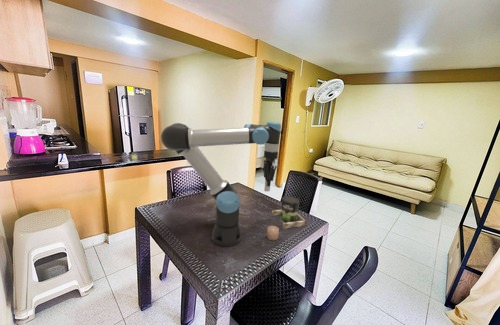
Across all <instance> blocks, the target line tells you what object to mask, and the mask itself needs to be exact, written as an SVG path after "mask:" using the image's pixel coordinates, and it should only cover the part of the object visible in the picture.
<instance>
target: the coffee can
mask: <svg viewBox="0 0 500 325" xmlns="http://www.w3.org/2000/svg"><path fill="white" fill-rule="evenodd" d="M299 205H300V199H299V198H297V197H296V196H290V195H286V196H285V195H284V196H282V198H281V206H280V207H281V208H280V210H281V214H280V215H279V221H280V222H281V223H282V224H283V223H287V222H295V221H297V220H298V219H297V213H298V212H299Z"/></svg>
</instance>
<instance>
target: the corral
mask: <svg viewBox="0 0 500 325" xmlns="http://www.w3.org/2000/svg"><path fill="white" fill-rule="evenodd" d="M280 214H281V209H275V210H272V211H271V216H273V217H274V216H280ZM306 226H307V220H306V219H305V218H304V217H303V216H302V215H300V213H298V212H297V219H296V221H295V222H287V223H283V222H282V226H281V228H282V230H284V229H285V230H286V229H292V228H297V227H306Z"/></svg>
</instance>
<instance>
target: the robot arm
mask: <svg viewBox="0 0 500 325" xmlns="http://www.w3.org/2000/svg"><path fill="white" fill-rule="evenodd" d="M281 130H282V124H281V123H280V122H277V121H267V122H266V124H265V125H264V124H263V125H262V124H251V123H248V124H245V125H244V126H243V127H234V128H233V127H231V128H211V129H205V128H204V129H192V128H190V127H189V126H187V124H184V123H179V122H177V123H173V124H170V125H169V126H166V127H165V128H164V129H163V130H162V132H161V135H160V140H161V143H162V145H163V146H164V147H165V148H166V149H168V150H170V151H175V152H176V153H177V154H178V155H179V156H183V158H184V159H185V160H186V161H187V162H188V164H189V165H190V166H191V167H192V168H193V169H194V172H196V174H198V176H199V177H200V179H201V180H202V181H203V182H204V183H205V185H207V187H208V189H210V193H209V194H210V195H211V196H212V198H213V199H214V200H215V224H214V227H213V229H212V233H211V240H212V242H213V243H214V244H216V245H217V246H220V247H232V246H235V245H237V244H239V243H240V242H241V238H242V233H241V228H240V225H239V222H240V221H239V218H240V205H241V200H240V197H239V194H238V191H237V189H236V188H235V186H233V185H232V184H230V183H229V181H228V180H225V179H223V178H222V177H221V176H220V174H219V173H218V171H217V170H216V168H214V166H213V165H212V164H211V162H210V161H209V159H208V158H206V155H205V154H204V153H203V152H202V150H201V149H200V147H212V146H228V145H229V146H231V145H232V146H233V145H244V144H245V145H247V144H248V145H249V144H250V145H251V144H256V145H264V152H263V157H264V158H265V159H264V160H263V177H264V180H265V182H264V192H270V190H271V182H272V181H274V179H275V178H274V177H275V174H276V173H275V172H276V169H277V167H278V166H277V165H275V163H276V161H275V160H277V159H278V157H279V152H278V151H279V147H280V137H281Z"/></svg>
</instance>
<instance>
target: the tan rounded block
mask: <svg viewBox="0 0 500 325" xmlns="http://www.w3.org/2000/svg"><path fill="white" fill-rule="evenodd" d="M266 230H267V231H266V238H267V239H268V240H270V241H277V240H278V239H279V232H280V228H279V227H277V226H275V225H269V226H267V229H266Z"/></svg>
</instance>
